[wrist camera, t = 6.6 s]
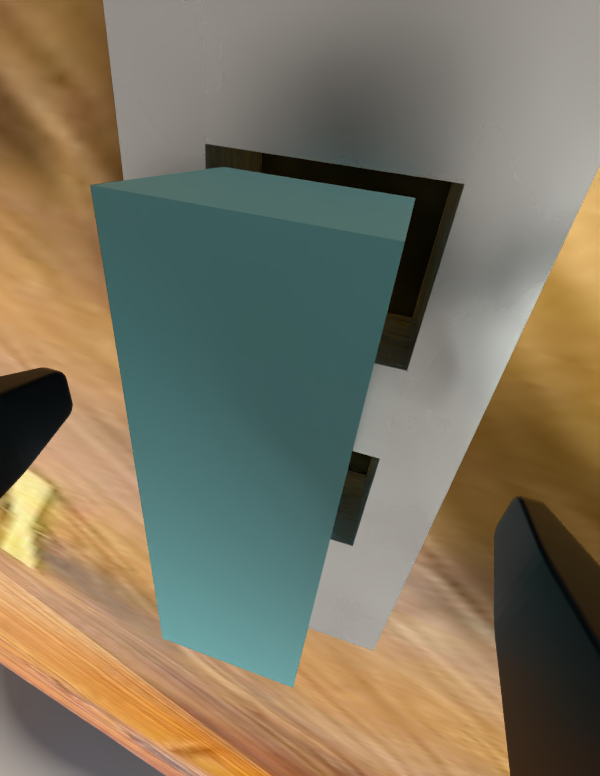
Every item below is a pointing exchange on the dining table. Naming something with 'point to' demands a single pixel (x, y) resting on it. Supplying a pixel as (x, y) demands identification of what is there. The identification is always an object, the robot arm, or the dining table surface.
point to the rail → (396, 155)
